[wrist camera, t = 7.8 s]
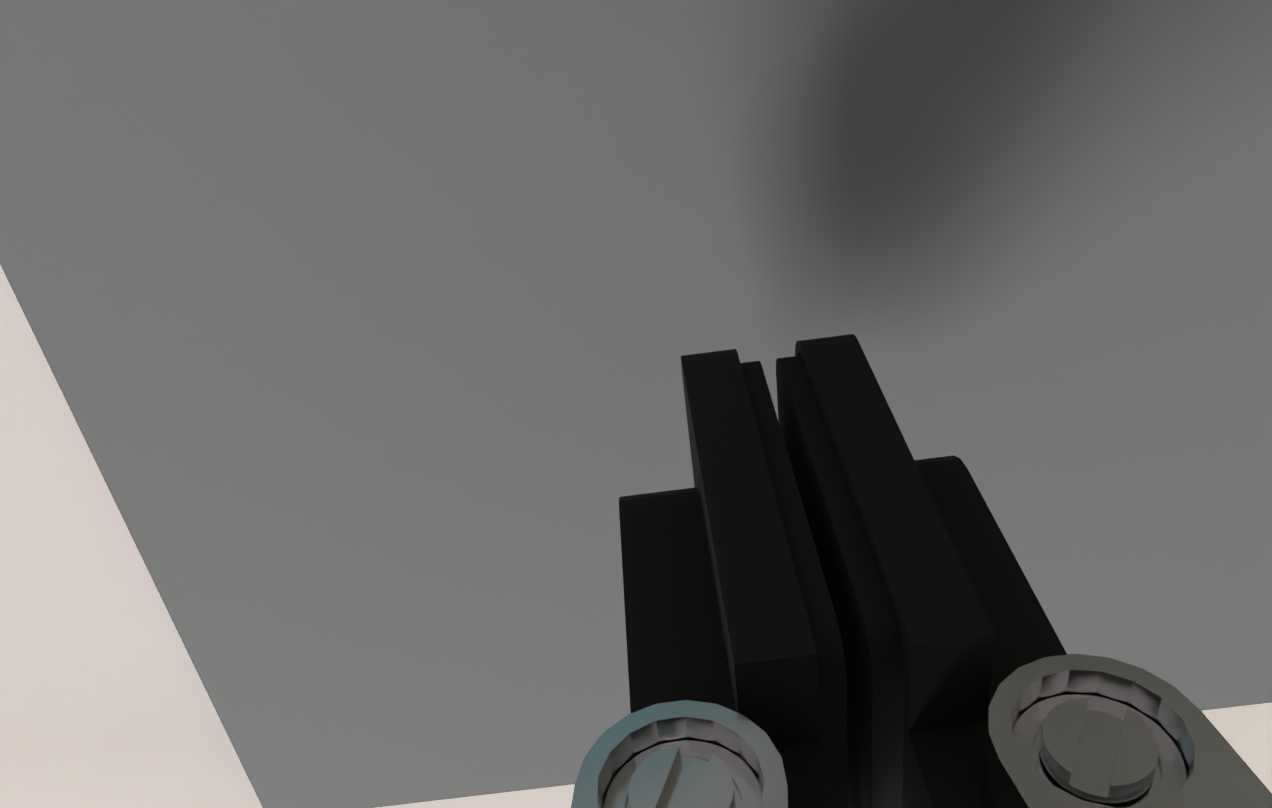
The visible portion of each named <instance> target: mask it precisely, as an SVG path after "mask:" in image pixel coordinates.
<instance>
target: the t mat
mask: <svg viewBox="0 0 1272 808" xmlns="http://www.w3.org/2000/svg"><path fill="white" fill-rule="evenodd" d="M0 264H1V266H2V268H3V271H4V273H5V275H6V277H7V279H8V281H9V283H10V285H11V287H12V289H13V291H14V293H15V295H16V297H17V300H18V302H19V304H20V306H21V308H22V310H23V312H24V314H25V316H26V318H27V320H28V322H29V324H30V326H31V329H32V331H33V333H34V335H35V337H36V339H37V341H38V343H39V345H40V347H41V349H42V351H43V353H44V355H45V358H46V360H47V362H48V364H49V366H50V368H51V370H52V372H53V374H54V376H55V378H56V380H57V382H58V384H59V387H60V389H61V391H62V393H63V395H64V397H65V399H66V401H67V403H68V405H69V407H70V409H71V411H72V413H73V416H74V418H75V420H76V422H77V424H78V426H79V428H80V430H81V432H82V434H83V436H84V438H85V440H86V442H87V444H88V447H89V449H90V451H91V453H92V455H93V457H94V459H95V461H96V463H97V465H98V467H99V469H100V471H101V473H102V476H103V478H104V480H105V482H106V484H107V486H108V488H109V490H110V492H111V494H112V496H113V498H114V500H115V502H116V505H117V507H118V509H119V511H120V513H121V515H122V517H123V519H124V521H125V523H126V525H127V527H128V529H129V531H130V534H131V536H132V538H133V540H134V542H135V544H136V546H137V548H138V550H139V552H140V554H141V556H142V558H143V560H144V563H145V565H146V567H147V569H148V571H149V573H150V575H151V577H152V579H153V581H154V583H155V585H156V587H157V589H158V592H159V594H160V596H161V598H162V600H163V602H164V604H165V606H166V608H167V610H168V612H169V614H170V616H171V618H172V621H173V623H174V625H175V627H176V629H177V631H178V633H179V635H180V637H181V639H182V641H183V643H184V645H185V647H186V650H187V652H188V654H189V656H190V658H191V660H192V662H193V664H194V666H195V668H196V670H197V672H198V674H199V676H200V678H201V681H202V683H203V685H204V687H205V689H206V691H207V693H208V695H209V697H210V699H211V701H212V703H213V705H214V707H215V710H216V712H217V714H218V716H219V718H220V720H221V722H222V724H223V726H224V728H225V730H226V732H227V734H228V736H229V739H230V741H231V743H232V745H233V747H234V749H235V751H236V753H237V755H238V757H239V759H240V761H241V763H242V765H243V768H244V770H245V772H246V774H247V776H248V778H249V780H250V782H251V784H252V786H253V788H254V790H255V792H256V794H257V797H258V799H259V801H260V803H261V805H262V807H263V808H374V807H382V806H391V805H399V804H408V803H416V802H425V801H433V800H442V799H451V798H459V797H468V796H476V795H485V794H493V793H502V792H510V791H519V790H527V789H536V788H544V787H553V786H561V785H570V784H575V782H576V780H577V777H578V774H579V771H580V768H581V766H582V763H583V760H584V757H585V755H586V754H587V753H588V751H589V750H590V749H591V747H592V746H593V745H594V744H595V742H596V741H597V740H598V738H599V737H600V736H601V734H602V733H603V732H604V731H606V730H607V729H609V728H610V727H611V726H613V725H614V724H615V723H617V722H618V721H620V720H621V719H622V718H624V717H625V716H626V715H628V714H631V710H630V693H629V675H628V657H627V640H626V622H625V604H624V587H623V569H622V551H621V534H620V516H619V497H622V496H630V495H638V494H646V493H654V492H662V491H670V490H678V489H687V488H695V487H694V478H693V469H692V459H691V450H690V441H689V432H688V423H687V414H686V405H685V396H684V387H683V377H682V368H681V356H683V355H691V354H698V353H706V352H714V351H722V350H730V349H736V350H737V353H738V356H739V360H740V363H745V362H752V361H760V362H761V365H762V368H763V371H764V375H765V378H766V381H767V385H768V388H769V392H770V395H771V398H772V402H773V405H774V408H775V412H776V415H777V419H778V402H777V383H776V360H777V358H784V357H792V356H795V345H796V342H797V341H801V340H809V339H817V338H825V337H832V336H840V335H848V334H854V335H855V336H856V338H857V339H858V341H859V343H860V346H861V348H862V350H863V352H864V354H865V356H866V358H867V360H868V363H869V365H870V367H871V369H872V371H873V373H874V375H875V377H876V380H877V382H878V384H879V386H880V388H881V390H882V392H883V395H884V397H885V399H886V401H887V403H888V405H889V407H890V409H891V412H892V414H893V416H894V418H895V420H896V422H897V424H898V426H899V429H900V431H901V433H902V435H903V437H904V439H905V441H906V444H907V446H908V448H909V450H910V452H911V454H912V456H913V458H914V460H920V459H928V458H937V457H945V456H953V455H954V456H956V457H958V458H960V459H961V460H962V461H963V463H964V464H965V466H966V467H967V469H968V470H969V472H970V474H971V476H972V478H973V480H974V482H975V483H976V485H977V487H978V489H979V491H980V493H981V495H982V497H983V498H984V500H985V502H986V504H987V506H988V508H989V510H990V511H991V513H992V515H993V517H994V519H995V521H996V523H997V524H998V526H999V528H1000V530H1001V532H1002V534H1003V536H1004V538H1005V539H1006V541H1007V543H1008V545H1009V547H1010V549H1011V551H1012V552H1013V554H1014V556H1015V558H1016V560H1017V562H1018V564H1019V565H1020V567H1021V569H1022V571H1023V573H1024V575H1025V577H1026V579H1027V580H1028V582H1029V584H1030V586H1031V588H1032V590H1033V592H1034V593H1035V595H1036V597H1037V599H1038V601H1039V603H1040V605H1041V606H1042V608H1043V610H1044V612H1045V614H1046V616H1047V618H1048V620H1049V621H1050V623H1051V625H1052V627H1053V629H1054V631H1055V633H1056V634H1057V636H1058V638H1059V640H1060V642H1061V644H1062V646H1063V647H1064V649H1065V651H1066V653H1067V655H1068V654H1083V655H1091V656H1100V657H1109V658H1112V659H1115V660H1118V661H1122V662H1125V663H1128V664H1131V665H1134V666H1137V667H1140V668H1143V669H1145V670H1147V671H1148V672H1150V673H1152V674H1154V675H1155V676H1157V677H1159V678H1161V679H1162V680H1164V681H1166V682H1168V683H1169V684H1171V685H1173V686H1174V687H1176V688H1177V689H1178V690H1179V691H1180V692H1181V693H1182V694H1183V695H1184V696H1185V697H1187V698H1188V699H1189V700H1190V701H1191V702H1192V703H1193V704H1194V705H1195V706H1196V707H1198V708H1199V709H1200V711H1201V710H1209V709H1218V708H1227V707H1235V706H1244V705H1252V704H1261V703H1269V702H1272V0H0ZM778 422H779V421H778Z"/></svg>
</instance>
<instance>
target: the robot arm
mask: <svg viewBox="0 0 1272 808" xmlns="http://www.w3.org/2000/svg"><path fill="white" fill-rule="evenodd" d="M681 368H682V377H683V387H684V396H685V405H686V414H687V423H688V432H689V441H690V450H691V459H692V469H693V478H694V487H695V488H687V489H678V490H670V491H662V492H654V493H646V494H638V495H630V496H622V497H619V516H620V534H621V551H622V569H623V587H624V604H625V622H626V640H627V657H628V675H629V693H630V710H631V714H628V715H626V716H625V717H624V718H622V719H621V720H620V721H618V722H617V723H615V724H614V725H613V726H611V727H610V728H609V729H607V730H606V731H604V732H603V733H602V734H601V736H600V737H599V738H598V740H597V741H596V742H595V744H594V745H593V746H592V747H591V749H590V750H589V751H588V753H587V754H586V755H585V757H584V760H583V763H582V766H581V768H580V771H579V774H578V777H577V780H576V782H575V788H574V794H573V800H572V805H571V808H1272V794H1271V792H1270V791H1269V790H1268V789H1267V788H1266V787H1265V785H1264V784H1263V783H1262V782H1261V781H1260V780H1259V778H1258V777H1257V776H1256V775H1255V774H1254V773H1253V771H1252V770H1251V769H1250V768H1249V767H1248V766H1247V764H1246V763H1245V762H1244V761H1243V760H1242V759H1241V757H1240V756H1239V755H1238V754H1237V753H1236V752H1235V750H1234V749H1233V748H1232V747H1231V746H1230V744H1229V743H1228V742H1227V741H1226V740H1225V739H1224V737H1223V736H1222V735H1221V734H1220V733H1219V732H1218V730H1217V729H1216V728H1215V727H1214V726H1213V725H1212V723H1211V722H1210V721H1209V720H1208V719H1207V718H1206V716H1205V715H1204V714H1203V713H1202V712H1201V711H1200V709H1199V708H1198V707H1196V706H1195V705H1194V704H1193V703H1192V702H1191V701H1190V700H1189V699H1188V698H1187V697H1185V696H1184V695H1183V694H1182V693H1181V692H1180V691H1179V690H1178V689H1177V688H1176V687H1174V686H1173V685H1171V684H1169V683H1168V682H1166V681H1164V680H1162V679H1161V678H1159V677H1157V676H1155V675H1154V674H1152V673H1150V672H1148V671H1147V670H1145V669H1143V668H1140V667H1137V666H1134V665H1131V664H1128V663H1125V662H1122V661H1118V660H1115V659H1112V658H1109V657H1100V656H1091V655H1083V654H1068V655H1067V653H1066V651H1065V649H1064V647H1063V646H1062V644H1061V642H1060V640H1059V638H1058V636H1057V634H1056V633H1055V631H1054V629H1053V627H1052V625H1051V623H1050V621H1049V620H1048V618H1047V616H1046V614H1045V612H1044V610H1043V608H1042V606H1041V605H1040V603H1039V601H1038V599H1037V597H1036V595H1035V593H1034V592H1033V590H1032V588H1031V586H1030V584H1029V582H1028V580H1027V579H1026V577H1025V575H1024V573H1023V571H1022V569H1021V567H1020V565H1019V564H1018V562H1017V560H1016V558H1015V556H1014V554H1013V552H1012V551H1011V549H1010V547H1009V545H1008V543H1007V541H1006V539H1005V538H1004V536H1003V534H1002V532H1001V530H1000V528H999V526H998V524H997V523H996V521H995V519H994V517H993V515H992V513H991V511H990V510H989V508H988V506H987V504H986V502H985V500H984V498H983V497H982V495H981V493H980V491H979V489H978V487H977V485H976V483H975V482H974V480H973V478H972V476H971V474H970V472H969V470H968V469H967V467H966V466H965V464H964V463H963V461H962V460H961V459H960V458H958V457H956V456H954V455H953V456H945V457H937V458H928V459H920V460H914V458H913V456H912V454H911V452H910V450H909V448H908V446H907V444H906V441H905V439H904V437H903V435H902V433H901V431H900V429H899V426H898V424H897V422H896V420H895V418H894V416H893V414H892V412H891V409H890V407H889V405H888V403H887V401H886V399H885V397H884V395H883V392H882V390H881V388H880V386H879V384H878V382H877V380H876V377H875V375H874V373H873V371H872V369H871V367H870V365H869V363H868V360H867V358H866V356H865V354H864V352H863V350H862V348H861V346H860V343H859V341H858V339H857V338H856V336H855V335H854V334H848V335H840V336H832V337H825V338H817V339H809V340H801V341H797V342H796V345H795V356H792V357H784V358H777V360H776V383H777V402H778V419H777V415H776V412H775V408H774V405H773V402H772V398H771V395H770V392H769V388H768V385H767V381H766V378H765V375H764V371H763V368H762V365H761V362H760V361H752V362H745V363H740V360H739V356H738V353H737V350H736V349H730V350H722V351H714V352H706V353H698V354H691V355H683V356H681ZM778 421H779V422H778Z"/></svg>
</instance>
